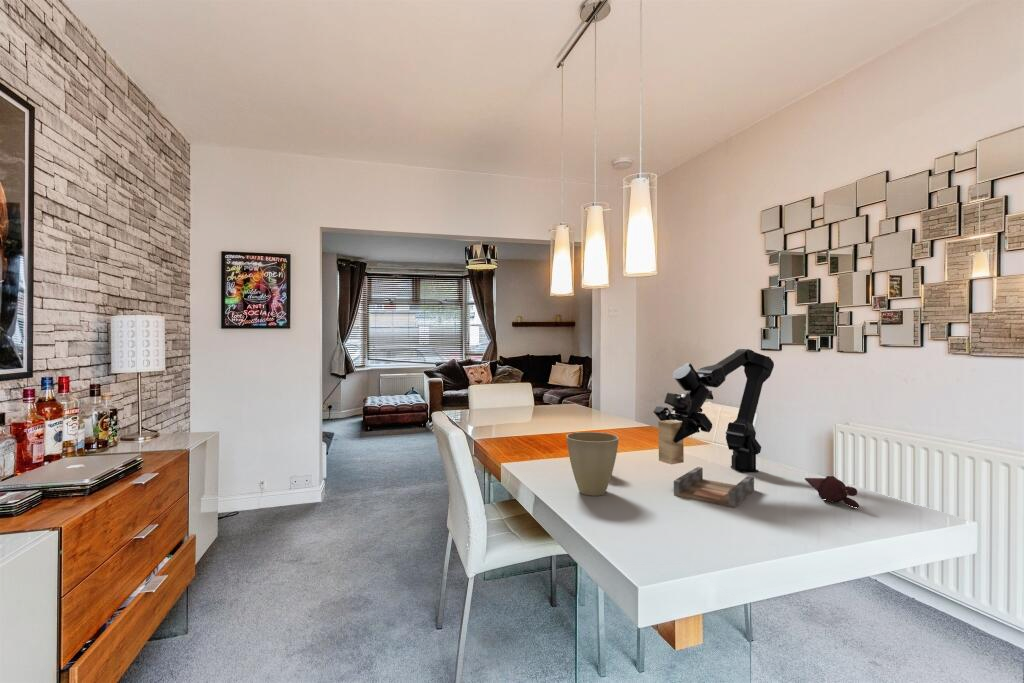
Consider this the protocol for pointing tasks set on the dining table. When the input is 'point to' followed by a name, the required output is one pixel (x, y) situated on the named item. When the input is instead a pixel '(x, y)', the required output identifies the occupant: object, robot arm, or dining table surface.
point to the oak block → (670, 442)
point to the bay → (712, 489)
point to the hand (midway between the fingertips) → (667, 440)
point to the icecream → (833, 490)
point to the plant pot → (592, 460)
